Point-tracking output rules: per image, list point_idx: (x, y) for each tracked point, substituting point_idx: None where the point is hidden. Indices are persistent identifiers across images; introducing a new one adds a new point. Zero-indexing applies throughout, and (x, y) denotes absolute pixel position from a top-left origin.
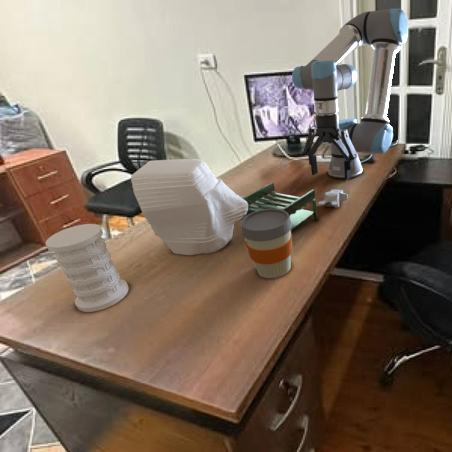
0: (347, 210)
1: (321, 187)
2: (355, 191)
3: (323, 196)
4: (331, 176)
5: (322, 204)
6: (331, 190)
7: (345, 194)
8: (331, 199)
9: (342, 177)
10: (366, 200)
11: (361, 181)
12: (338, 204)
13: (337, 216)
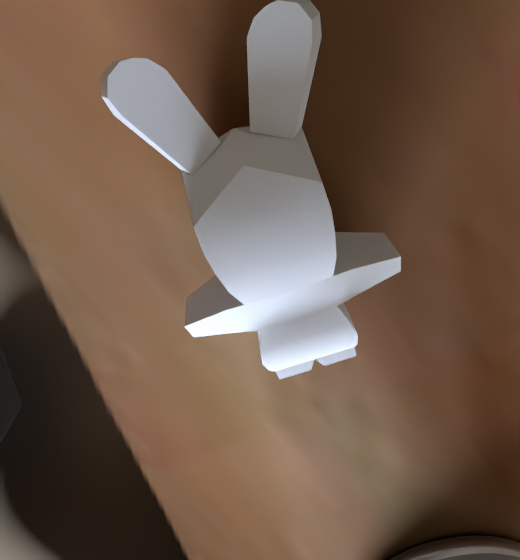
0: (106, 178)
1: (504, 407)
2: (251, 445)
3: (382, 243)
4: (508, 539)
5: (256, 23)
6: (340, 318)
7: (196, 318)
8: (227, 156)
9: (429, 549)
10: (99, 372)
11: (298, 553)
12: (117, 114)
13: (101, 35)
